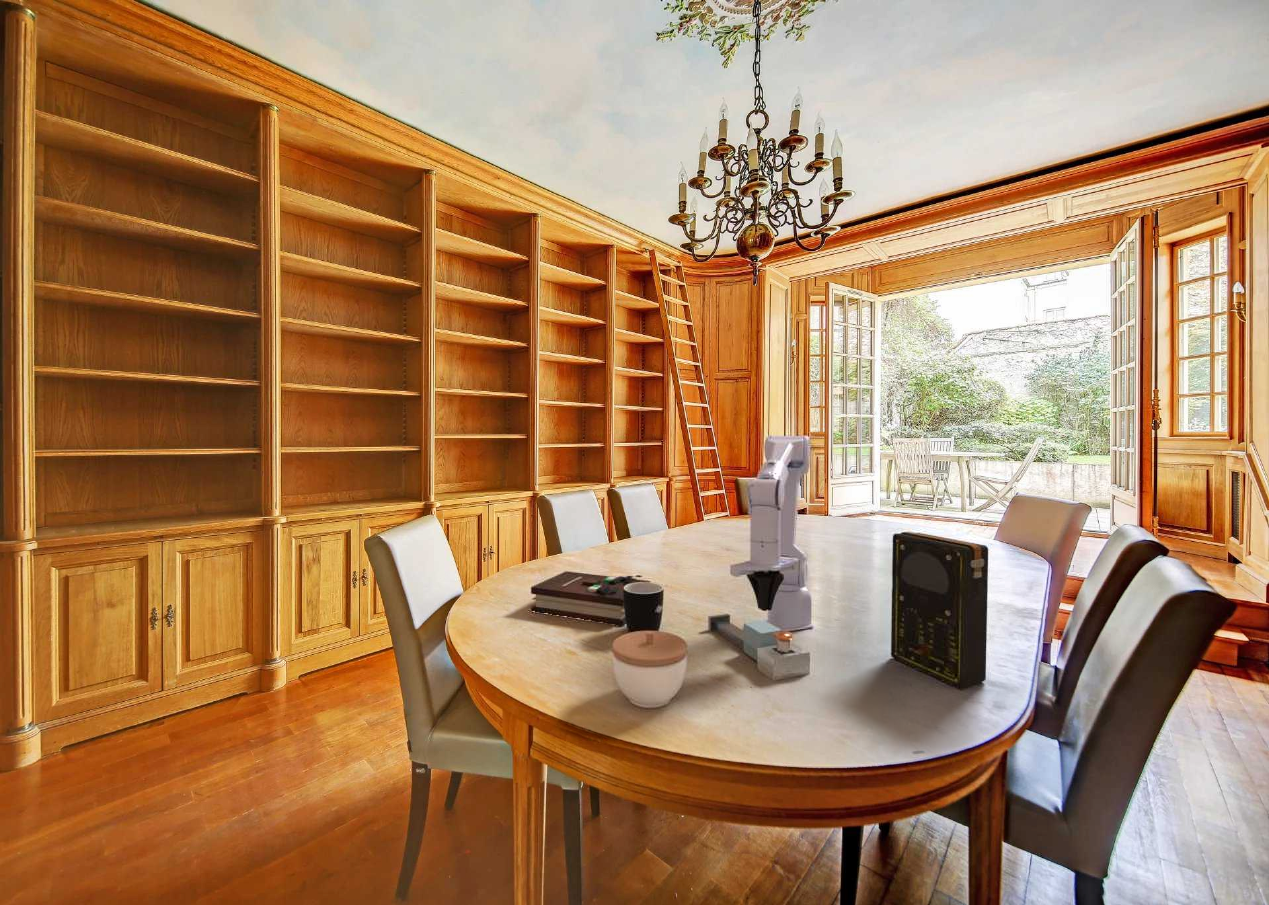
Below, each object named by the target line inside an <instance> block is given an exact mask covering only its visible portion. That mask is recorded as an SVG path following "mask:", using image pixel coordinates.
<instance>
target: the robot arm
mask: <svg viewBox="0 0 1269 905" xmlns="http://www.w3.org/2000/svg"><path fill="white" fill-rule="evenodd" d="M763 447H764V459H765V460H766V461H765V462H764V463H762V465H761V467H760V469H759V471H758V474H757V476H756V477H755V478H753V479H752V481H751V480H750V481H748V484H747V487H746V503H747V509H748V512H747V514H748V517H749V518H750V524H749V525H750V527H749V528H750V534H749V535H750V536H749V537H750V539H749V541H750V542H749V543H750V545H749V546H750V548H749V560H747V561H744V562H739V563H738V562H737V563H734V564H730V566H729V568H730V570H729V573H730V575H731V576H733V577H735V578H737V577H738V578H740V577H741V576H746V577H747V579H748V581H749V583H750V585H751V588H752V589H753V590H752V591H753V592H754V596H755V599H756V604H757V609H759V610H760V611H763V612H767V618H760V619H759V621H762V620H765V621H766V622H768V623H770V624H772V625H774V626H775V627H777V628H779V629H781V630H782V631H788V632H792V631H793V632H794V631H799V630H800V631H801V630H805V629H811V628H814V624H812V597H811V593H810V591H809V589H808V588H807V587H806V585H807V583H808V582H807V581H808V556H807V554H806V553H805V552H804V550H802V549H801V548H799V547H798V546H797V544H796V541H797V540H796V538H797V521H798V504H799V503H798V502H799V485H800V481H801V478H802V476H803V475H805V474H807V473H809V470H810V466H811V463H810V462H811V449H812V448H811V447H812V446H811V438H810V437H809V436H808V435H771V434H770V435H768V436H766V438H765V440H764V446H763Z"/></svg>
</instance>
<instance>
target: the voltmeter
mask: <svg viewBox="0 0 1269 905" xmlns="http://www.w3.org/2000/svg"><path fill="white" fill-rule="evenodd" d="M891 560H892V562H891V563H892V564H891V566H892V567H891V578H892V579H891V580H892V581H891V621H890V622H891V625H890V630H891V631H890V633H891V634H890V638H891V640H890V655H891V658H892V657H893V658H894V660H895V659H896V661H898V662H900V663H902V662H903V663H902V664H904V663H905V664H904V665H906V664H907V666H908V665H909V667H911V668H913V669H915V670H917V669H918V670H917V671H919V672H922V673H924V674H927V675H929V676H930V675H931V676H930V677H933V678H935V679H938V680H939V679H940V680H939V681H941V682H944V683H946V684H948V683H949V684H948V685H950V686H952V685H953V686H952V687H955V688H957V689H959V690H966V688H967V686H971V685H972V686H973V685H975V684H978V683H981V682H984V681H985V680H987V676H986V675H987V640H988V639H987V638H988V637H987V635H988V634H987V632H988V627H987V626H988V593H989V592H988V587H989V586H988V585H989V583H988V582H989V579H988V578H989V547H988V546H987V545H985V544H979V543H975V542H969V541H964V540H959V539H953V538H949V537H943V536H938V535H932V534H927V533H926V534H925V533H923V532H922V533H921V532H913V531H902V532H900V533H893V535H892V558H891Z"/></svg>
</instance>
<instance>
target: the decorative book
mask: <svg viewBox="0 0 1269 905" xmlns="http://www.w3.org/2000/svg"><path fill="white" fill-rule="evenodd" d="M634 577H635V578H634ZM641 577H643V575H639V574H637V575H635V576H633V575H627V576H623V575H622V576H621V575H620V576H612V575H611V576H610V575H609V576H607V575H602V574H593V573H583V572H574V571H567V570H565V571H564V572H561V573H559V574H556V575H555V576H552V577H550V578H548V579H546V580H543V581H542V582H541V581H540V582H539V583H536V584H535V585H532V586H530V594H532V595H535V597H533V598H531V600H532V601H535V604H534V605H532V606H531V607H530V612H531V611H535V612H539V613H538V614H540V613H548V614H552V615H559V616H567V617H572V618H580V619H584V620H591V621H595V622H594V623H597V622H603V623H602V624H604V623H607V624H606V625H610V624H615V625H614V626H616V625H619V626H618V627H625V626H626V625H627V624H626V619H625V611H624V598H623V589H624V586H626V585H628V584H631V583H638V582H649V583H651V580H643V579H637V578H641ZM552 615H551V616H552ZM559 616H558V617H559ZM572 618H571V619H572ZM584 620H583V621H584ZM591 621H590V622H591ZM625 624H626V625H625Z"/></svg>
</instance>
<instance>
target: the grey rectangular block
mask: <svg viewBox="0 0 1269 905" xmlns="http://www.w3.org/2000/svg"><path fill="white" fill-rule="evenodd" d="M756 661H757V662H756V664H757V665H756V666H757V668H756V669H757V670H758V671H759V672H760V671H761V673H762V674H764V675H765V676H766V677H767V678H768V679H770V680H772V681H778V680H779V679H780V680H784V679H789V678H793V677H799V676H804V675H805V676H806V675H809V674H810V672H811V671H810V670H811V669H810V667H811V652H810V651H809V650H807V649H805V648H804V647H801V645H798V644H796V643H795V642H793V641H791V642H790V653H789V654H783V655H781V654H779V653H778V652H777V645H774V646H768V647H763V648H757V660H756Z"/></svg>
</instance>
